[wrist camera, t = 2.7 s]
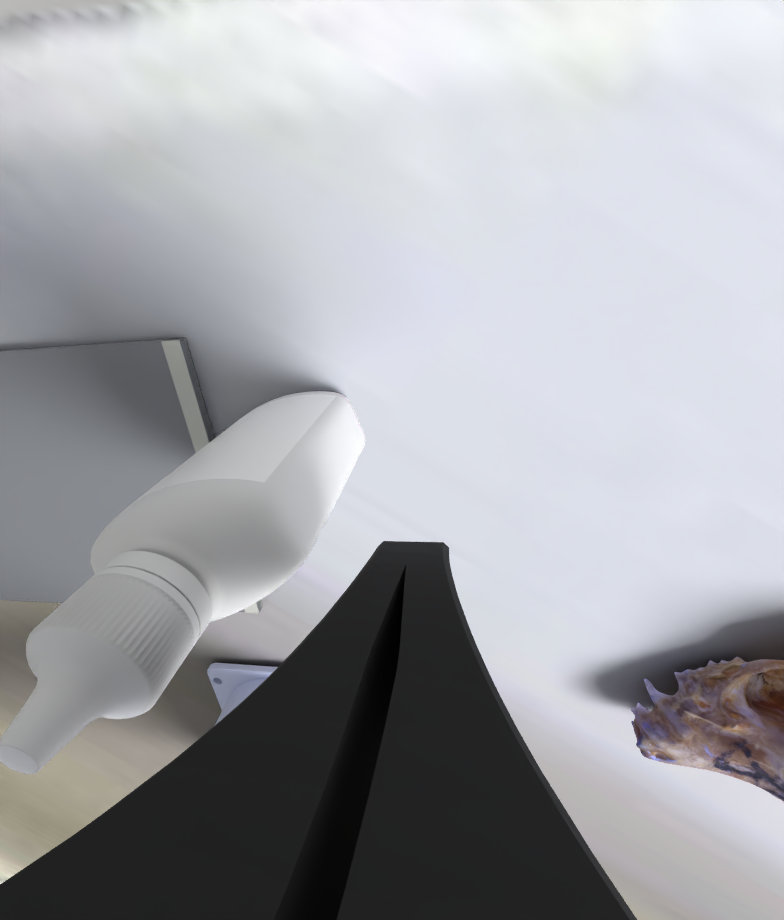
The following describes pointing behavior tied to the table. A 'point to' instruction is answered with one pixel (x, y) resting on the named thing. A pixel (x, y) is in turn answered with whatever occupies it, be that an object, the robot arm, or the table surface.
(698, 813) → the table surface
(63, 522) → the mat
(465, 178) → the table surface
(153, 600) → the eye dropper bottle
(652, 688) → the skull
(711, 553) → the table surface
